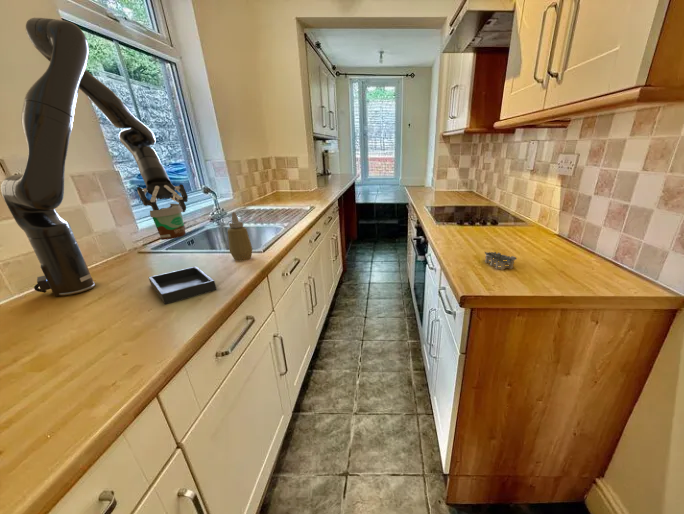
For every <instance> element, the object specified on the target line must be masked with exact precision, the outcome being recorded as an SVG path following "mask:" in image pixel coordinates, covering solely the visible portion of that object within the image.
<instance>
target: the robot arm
mask: <svg viewBox="0 0 684 514" xmlns="http://www.w3.org/2000/svg"><path fill="white" fill-rule="evenodd" d="M25 32H26V35H27V37H28V38H27V39H28V40H29V42H30V43H31V44H32V46H33V47H34V48H35V49H36V50H37V51H38V52H39V53H40V54H41V55H42V56H43V57H44V58H45V59H46V60H47V61H48V62H49V64H48V67H47V68H46V71H45V72H44V73H43V74H42V75H41V76H40V77H39V78H38V79H37V80H36V81H35V82H34V83H33V84H32V85H31V86H30V88H29V89H28V90H27V92H26V93H25V96H24V99H23V105H22V111H21V118H20V121H21V128H22V132H23V135H24V139H25V141H26V145H27V158H26V163H25V168H24V171H23V173H22V174H21V173H20V174H19V173H18V174H11V175H8V176H7V177H5V178H4V179H3V180H2V181H1V184H0V192H1V196H2V198H3V200H4V203H5V204H6V206H7V208H8V211H9V212H10V214H11V216H12V217H13V220H14V221H15V224H16V225H17V226H18V227H19V228H20V229H21V230H22V231H23V232H24V233H25V236H26V237H27V239H28V242H29V243H30V245H31V247H32V250H33V252H34V254H35V256H36V258H37V260H38V262H39V265H40V266H39V267H40V269H41V272H42V274H43V275H41V276H37V279H36V284H35V285H34V286H33V289H34V291H36V292H39V293H45V294H46V293H47V292H48V291H49V290H51V292H52V294H53V296H54V297H55V298H57V297H62V296H63V297H65V296H71V295H72V296H73V295H76V294H77V295H78V294H81V293H85V292H87V291H89V290H92V289H93V288H95V287H96V283H95V281H94V279H93V276H92V275H91V272H90V269H89V267H88V264H87V263H86V261H85V257H84V255H83V252H82V250H81V248H80V246H79V244H78V241H77V239H76V237H75V234H74V231H73V229H72V227H71V224H70V223H69V222H68V221H67V220H66V219H64V218H62V216H61V215H59V214H58V212H57V210H56V209H57V208H58V207H59V206H60V205H61V204H62V202H63V199H64V197H65V196H64V195H65V168H66V160H67V156H68V150H69V143H70V139H71V133H72V129H73V125H74V124H73V122H74V116H75V109H76V104H77V99H78V95H79V90H80V91H81V92H82V93H83V94H84V95H85V96H86V97H87V98H88V99H89V100H90V101H91V102H92V103H93V104H94V105H95V106H96V107H97V108H98V110H99V111H100V112H101V114H102V115H103V116H104V117H106V119H107V120H108V121H109V122H110V124H111V125H112V126H113V127H115V128H118V129H122V130H121V131H120V132H119V133H118V139H119V141H120V143H121V144H122V145H123V146H124V148H125V149H127V150H128V151H129V153H130V154H131V155H132V157H133V158H134V160H135V162H136V164H137V167H138V170H139V173H140V176H141V177H142V180H143V182H144V185H145V186H146V187H145V188H144V187H143V188H142V187H141V186H137V187H136V190H137V195H138V196H139V198H140V200H141V202H142V205H143V206H145V207H147V206H148V207H149V206H150V207H151V209H152V210H160V208H159V206H158V201H159V200H164V199H167V200H168V199H171V200H172V201H175V202H176V203H177V204H179V205H180V206H181V208H182V209H183V212H182V213H186V211H187V205H186V204H185V203H188V198H189V196H188V194H187V190H186V189H185V186H184V185H183V184H181V183H179V185H174V184H173V183H172V181H171V179H170V177H169V175H168V173H167V171H166V168H165V166H164V165H163V163H162V162H161V160H160V157H159V155H158V153H157V152H156V150H155V149H154V148H153V147H151V146H154V145H155V144H156V141H157V139H156V136H155V134H154V132H153V131H152V130H151V128H149V127H148V126H146V125H145V124H144V123H143V122H142V121H140V120H139V119H138V118H137V117H135V116H134V114H133V113H131V111H130V110H129V108H128V107H127V106H126V105H125V104H124V102H123V101H122V100H121V98H120V97H119V96H118V95H117V94H116V93H115V92H114V91H113V90H111V88H109V87H108V86H107V85H106V84H104V83H103V82H102V81H100V80H99V79H97V77H95V76H93V74H91V73H90V72H89V71H88V70H87V69H86V68H87V65H88V62H89V58H90V45H89V41H88V38H87V36H86V35H85V33H84V32H83V30H82V29H81V28H80V27H79V26H78V25H76V24H74V23H73V22H71V21H67V20H64V19H55V18H47V17H31V18H29V19H27V21H26V23H25ZM176 191H177V192H176ZM147 193H148V194H149V195H151V198H150V199H148V198H147V196H146V195H147ZM178 193H179V194H180V195H181V196H180V195H179V194H178Z"/></svg>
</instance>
